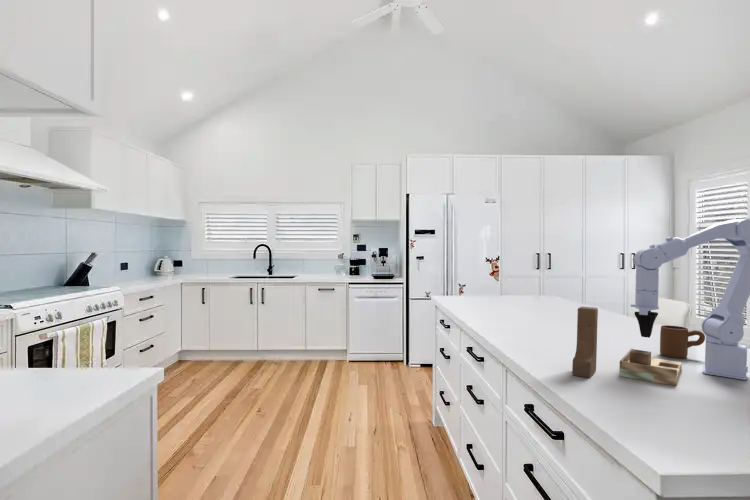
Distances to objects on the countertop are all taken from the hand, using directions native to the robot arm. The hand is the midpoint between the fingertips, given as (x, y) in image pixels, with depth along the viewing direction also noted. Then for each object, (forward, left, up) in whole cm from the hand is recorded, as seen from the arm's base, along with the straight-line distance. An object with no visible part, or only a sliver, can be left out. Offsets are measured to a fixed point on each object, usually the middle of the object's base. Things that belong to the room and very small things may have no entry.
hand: (645, 336), depth 131 cm
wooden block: (+13, +18, -9) cm, 24 cm away
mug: (-7, -24, -10) cm, 27 cm away
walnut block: (0, +9, -7) cm, 12 cm away
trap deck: (-2, +4, -9) cm, 10 cm away
